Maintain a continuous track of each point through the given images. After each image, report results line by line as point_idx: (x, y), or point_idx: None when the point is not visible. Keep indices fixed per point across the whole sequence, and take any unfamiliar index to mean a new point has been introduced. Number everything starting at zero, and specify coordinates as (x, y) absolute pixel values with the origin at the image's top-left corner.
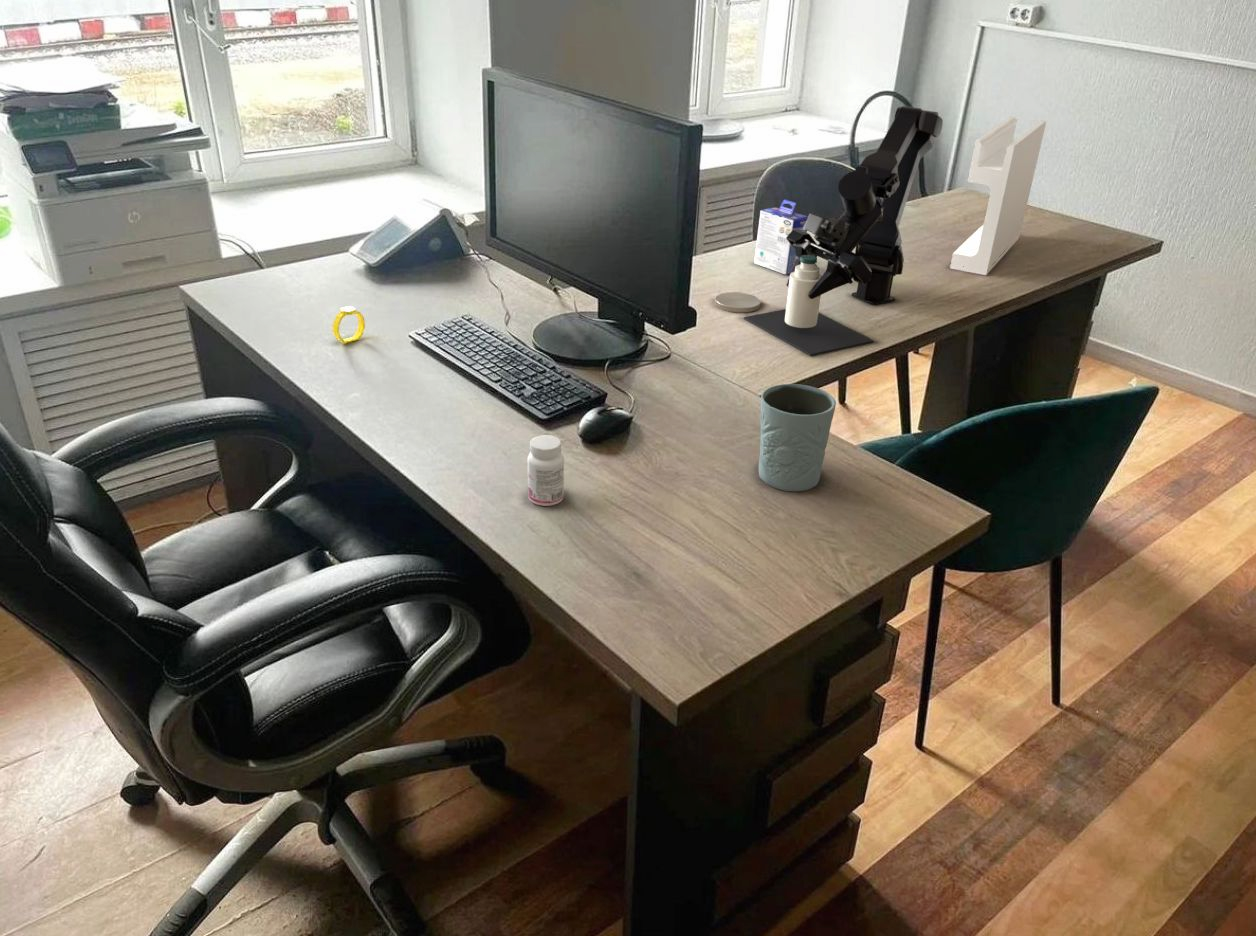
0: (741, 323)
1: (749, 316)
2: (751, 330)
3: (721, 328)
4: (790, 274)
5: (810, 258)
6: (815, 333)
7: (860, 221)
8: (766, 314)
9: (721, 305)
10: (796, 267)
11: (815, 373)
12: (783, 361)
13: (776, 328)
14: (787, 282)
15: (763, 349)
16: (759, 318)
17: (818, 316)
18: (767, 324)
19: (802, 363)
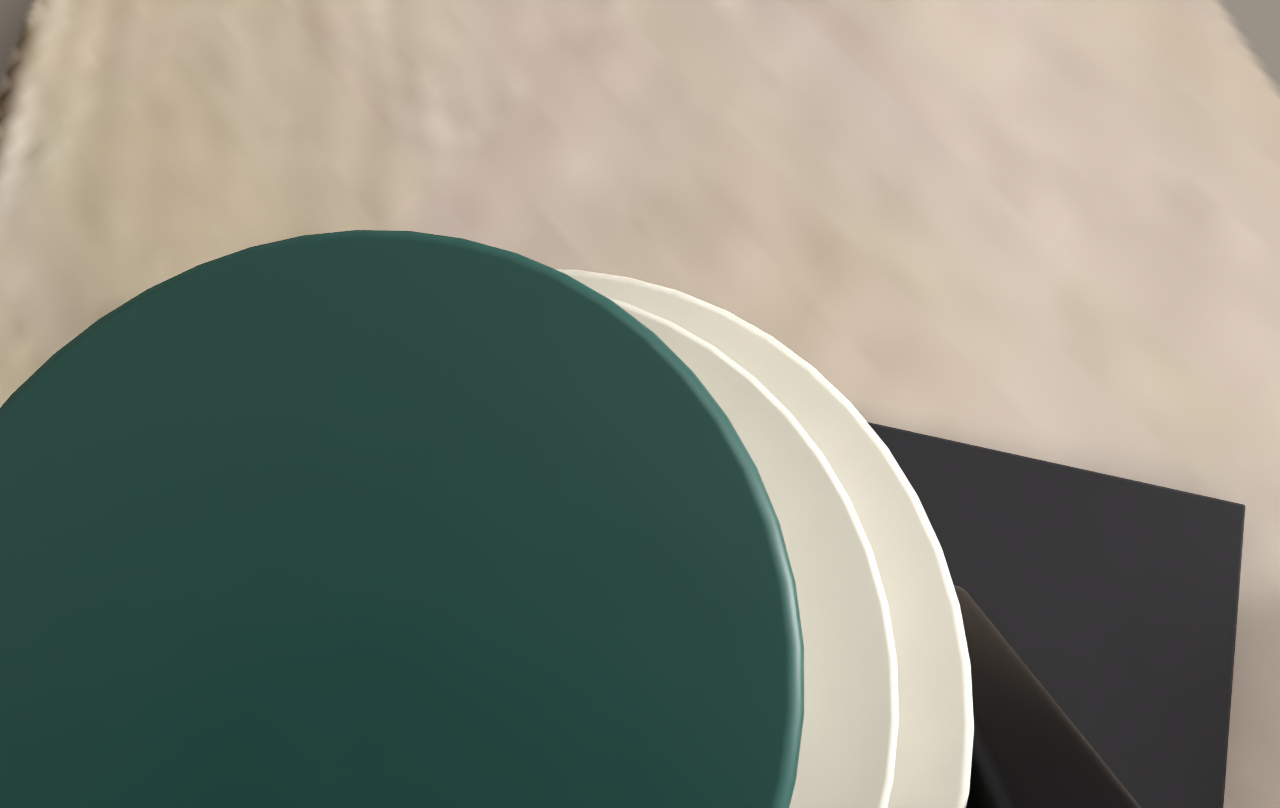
0: (1147, 397)
1: (1227, 562)
2: (952, 337)
3: (1148, 163)
4: (861, 425)
5: (152, 556)
6: None
7: None
8: (1176, 775)
9: None
10: (745, 411)
11: (33, 71)
12: (329, 54)
13: None
14: (965, 600)
15: (584, 105)
16: (1121, 605)
17: None
18: (941, 533)
19: (199, 133)
